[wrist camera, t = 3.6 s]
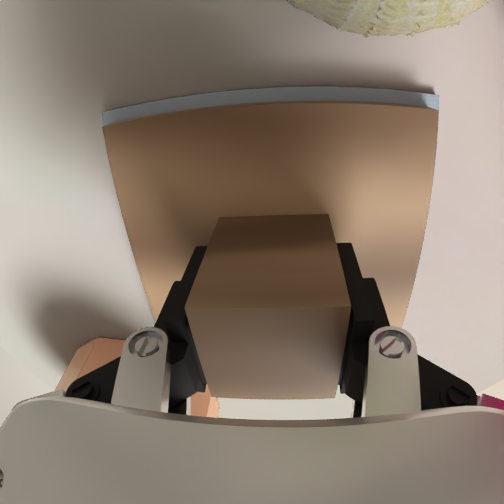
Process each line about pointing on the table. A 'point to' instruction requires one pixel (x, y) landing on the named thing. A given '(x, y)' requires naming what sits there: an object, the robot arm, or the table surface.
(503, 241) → the table surface
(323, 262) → the lid
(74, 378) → the bowl
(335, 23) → the sea urchin shell
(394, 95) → the mat
